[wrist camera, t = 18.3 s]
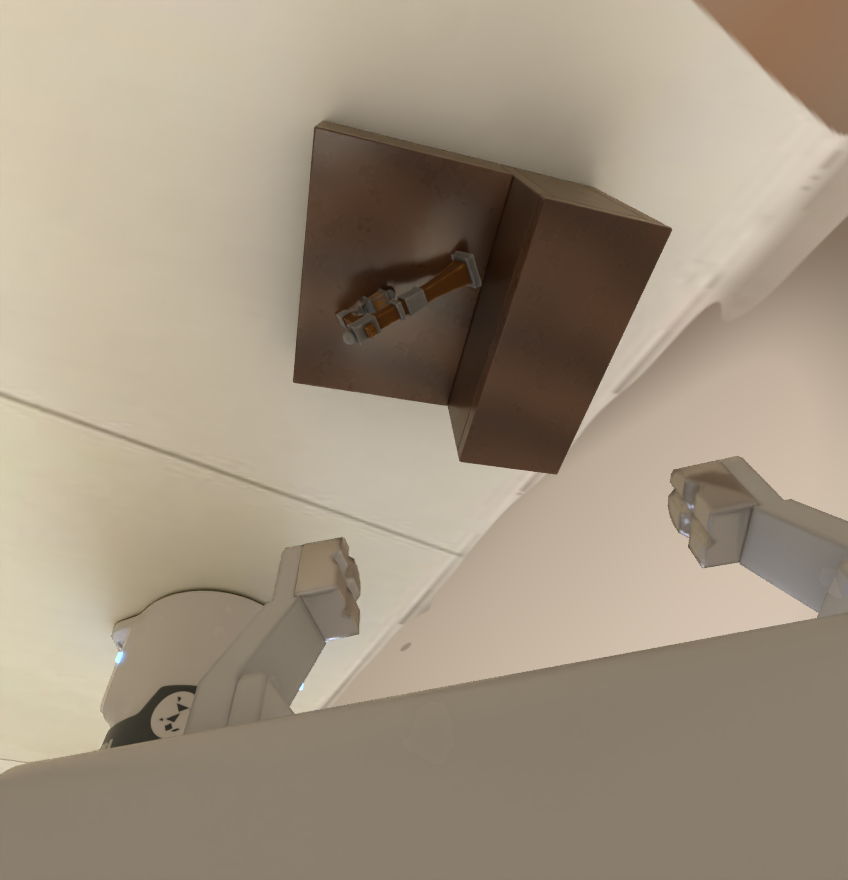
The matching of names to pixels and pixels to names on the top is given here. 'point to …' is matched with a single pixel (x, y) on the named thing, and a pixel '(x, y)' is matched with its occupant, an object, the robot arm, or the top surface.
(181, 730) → the robot arm
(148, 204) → the top surface
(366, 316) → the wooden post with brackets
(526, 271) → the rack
